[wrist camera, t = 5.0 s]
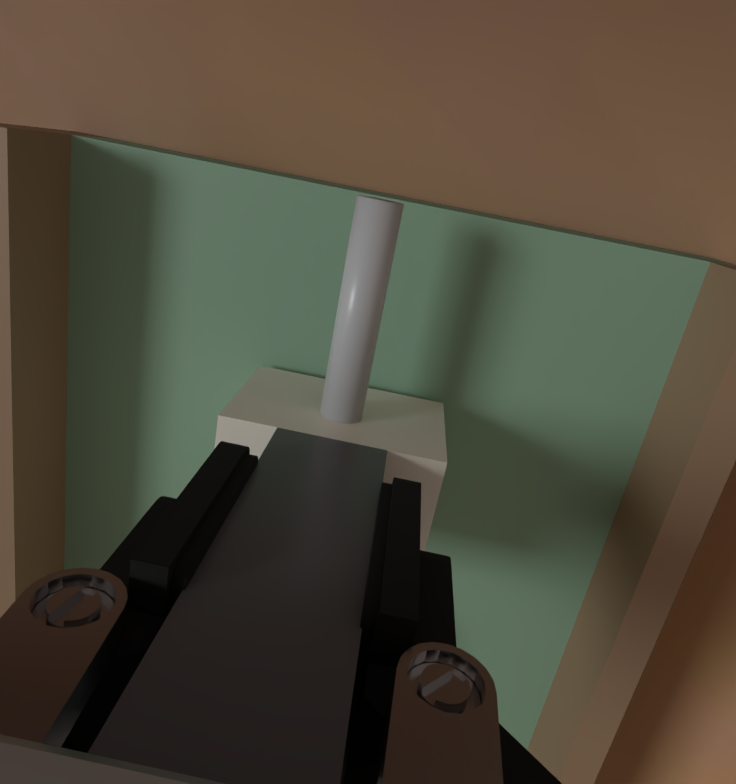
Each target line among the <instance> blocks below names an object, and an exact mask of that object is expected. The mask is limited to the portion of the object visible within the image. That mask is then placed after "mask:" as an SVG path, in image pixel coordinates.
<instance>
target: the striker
mask: <svg viewBox="0 0 736 784" xmlns="http://www.w3.org/2000/svg"><path fill="white" fill-rule="evenodd" d="M403 207H404V204H402V203H398V202H394V201H390V200H385V199H380V198H375V197H369V196H362V195H357V196H356V202H355V208H354V214H353V219H352V225H351V231H350V237H349V243H348V249H347V255H346V260H345V266H344V272H343V278H342V284H341V290H340V296H339V301H338V307H337V313H336V319H335V325H334V331H333V336H332V342H331V348H330V354H329V360H328V366H327V372H326V377H325V379H323V378H319V377H314V376H309V375H304V374H299V373H294V372H290V371H285V370H280V369H275V368H270V367H265V366H260V367H259V368H258V369H257V370H256V371H255V372H254V374H253V375H252V376H251V377H250V378H249V380H248V381H247V382H246V383H245V384H244V385H243V387H242V388H241V389H240V390H239V391H238V392H237V394H236V395H235V396H234V397H233V398H232V399H231V401H230V402H229V403H228V404H227V405H226V406H225V408H224V409H223V410H222V411H221V412H220V413H219V415H218V421H217V430H216V439H215V448H216V446H217V445H218V444H219V443H220V442H221V441H224V442H228V443H233V444H238V445H243V446H248V447H249V448H250V455H255V456H258V464H257V466H256V468H255V469H254V471H253V473H252V475H251V476H250V478H249V480H248V482H247V483H246V485H245V487H244V488H243V490H242V492H241V494H240V495H239V497H238V499H237V501H236V502H235V504H234V506H233V508H232V509H231V511H230V513H229V514H228V516H227V518H226V520H225V521H224V523H223V525H222V527H221V528H220V530H219V532H218V534H217V535H216V537H215V539H214V540H213V542H212V544H211V546H210V547H209V549H208V551H207V553H206V554H205V556H204V558H203V560H202V561H201V563H200V565H199V566H198V568H197V570H196V572H195V573H194V575H193V577H192V579H191V580H190V582H189V584H188V586H187V587H186V589H185V590H182V592H181V594H180V595H179V597H178V599H177V600H176V602H175V604H174V606H173V607H172V609H171V611H170V612H169V614H168V616H167V618H166V619H165V621H164V623H163V624H162V626H161V628H160V630H159V631H158V633H157V635H156V636H155V638H154V640H153V642H152V643H151V645H150V647H149V649H148V650H147V652H146V654H145V655H144V657H143V659H142V661H141V662H140V664H139V666H138V667H137V669H136V671H135V673H134V674H133V676H132V678H131V679H130V681H129V683H128V685H127V686H126V688H125V690H124V691H123V693H122V695H121V697H120V698H119V700H118V702H117V703H116V705H115V707H114V709H113V710H112V712H111V714H110V715H109V717H108V719H107V721H106V722H105V724H104V726H103V727H102V729H101V731H100V733H99V734H98V736H97V738H96V739H95V741H94V743H93V745H92V746H91V748H90V750H89V751H88V753H89V754H94V755H98V756H103V757H107V758H112V759H116V760H121V761H125V762H130V763H135V764H139V765H144V766H148V767H153V768H157V769H162V770H166V771H171V772H175V773H180V774H185V775H189V776H194V777H198V778H203V779H207V780H212V781H216V782H221V783H225V784H340V781H341V773H342V766H343V759H344V752H345V745H346V738H347V731H348V724H349V717H350V710H351V703H352V696H353V689H354V682H355V675H356V668H357V661H358V654H359V647H360V640H361V633H362V628H360V622H361V615H362V608H363V601H364V595H365V588H366V581H367V574H368V568H369V561H370V554H371V548H372V541H373V534H374V527H375V521H376V514H377V507H378V500H379V494H380V488H381V483H382V482H384V483H389V484H392V482H393V478H394V477H396V478H401V479H406V480H410V481H415V482H420V483H421V528H420V550H422V551H425V548H426V544H427V540H428V536H429V532H430V528H431V524H432V521H433V517H434V513H435V509H436V505H437V501H438V497H439V493H440V489H441V486H442V482H443V478H444V474H445V470H446V466H447V450H446V436H445V421H444V407H443V403H440V402H435V401H430V400H425V399H421V398H416V397H411V396H406V395H401V394H396V393H391V392H387V391H382V390H377V389H372V388H368V385H369V380H370V374H371V369H372V364H373V359H374V354H375V349H376V344H377V339H378V334H379V329H380V324H381V319H382V314H383V309H384V304H385V298H386V293H387V288H388V283H389V278H390V273H391V268H392V263H393V258H394V253H395V248H396V243H397V238H398V233H399V228H400V223H401V217H402V212H403ZM215 448H214V449H215Z"/></svg>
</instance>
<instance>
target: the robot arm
mask: <svg viewBox="0 0 736 784" xmlns="http://www.w3.org/2000/svg"><path fill="white" fill-rule="evenodd" d="M257 464H258V456H255V455H250V448H249V447H248V446H243V445H238V444H233V443H228V442H224V441H221V442H220V443H219V444H218V445H217V446H216V448H215V449H214V450H213V452H212V453H211V454H210V455H209V457H208V458H207V459H206V461H205V462H204V463H203V465H202V466H201V467H200V469H199V470H198V471H197V473H196V474H195V475H194V476H193V478H192V479H191V480H190V482H189V483H188V484H187V486H186V487H185V488H184V490H183V491H182V492H181V494H180V495H179V496H178V497H177V499H176V498H171V497H167V496H160V497H159V498H158V499H157V500H156V501H155V502H154V504H153V505H152V506H151V507H150V509H149V510H148V511H147V512H146V513H145V515H144V516H143V517H142V518H141V520H140V521H139V522H138V523H137V524H136V526H135V527H134V528H133V529H132V531H131V532H130V533H129V534H128V535H127V537H126V538H125V539H124V540H123V542H122V543H121V544H120V545H119V546H118V548H117V549H116V550H115V551H114V552H113V554H112V555H111V556H110V557H109V559H108V560H107V561H106V562H105V563H104V565H103V566H102V567H101V568H100V570H99V569H93V568H73V569H65V570H61V571H58V572H54V573H51V574H48V575H46V576H44V577H42V578H40V579H38V580H36V581H35V582H34V583H32V584H31V585H30V586H29V587H28V588H27V589H25V590H24V591H23V592H22V594H21V595H20V596H19V597H18V598H17V599H16V601H15V602H14V603H13V604H12V605H11V606H10V607H9V609H8V610H7V611H6V612H5V613H4V614H3V615H2V617H1V618H0V784H225V783H221V782H216V781H212V780H207V779H203V778H198V777H194V776H189V775H185V774H180V773H175V772H171V771H166V770H162V769H157V768H153V767H148V766H144V765H139V764H135V763H130V762H125V761H121V760H116V759H112V758H107V757H103V756H98V755H94V754H89V753H88V751H89V750H90V748H91V746H92V745H93V743H94V741H95V739H96V738H97V736H98V734H99V733H100V731H101V729H102V727H103V726H104V724H105V722H106V721H107V719H108V717H109V715H110V714H111V712H112V710H113V709H114V707H115V705H116V703H117V702H118V700H119V698H120V697H121V695H122V693H123V691H124V690H125V688H126V686H127V685H128V683H129V681H130V679H131V678H132V676H133V674H134V673H135V671H136V669H137V667H138V666H139V664H140V662H141V661H142V659H143V657H144V655H145V654H146V652H147V650H148V649H149V647H150V645H151V643H152V642H153V640H154V638H155V636H156V635H157V633H158V631H159V630H160V628H161V626H162V624H163V623H164V621H165V619H166V618H167V616H168V614H169V612H170V611H171V609H172V607H173V606H174V604H175V602H176V600H177V599H178V597H179V595H180V594H181V592H182V590H185V589H186V587H187V586H188V584H189V582H190V580H191V579H192V577H193V575H194V573H195V572H196V570H197V568H198V566H199V565H200V563H201V561H202V560H203V558H204V556H205V554H206V553H207V551H208V549H209V547H210V546H211V544H212V542H213V540H214V539H215V537H216V535H217V534H218V532H219V530H220V528H221V527H222V525H223V523H224V521H225V520H226V518H227V516H228V514H229V513H230V511H231V509H232V508H233V506H234V504H235V502H236V501H237V499H238V497H239V495H240V494H241V492H242V490H243V488H244V487H245V485H246V483H247V482H248V480H249V478H250V476H251V475H252V473H253V471H254V469H255V468H256V466H257ZM420 528H421V483H420V482H415V481H410V480H406V479H401V478H396V477H394V478H393V482H392V484H389V483H384V482H382V483H381V488H380V494H379V500H378V507H377V514H376V521H375V527H374V534H373V541H372V548H371V554H370V561H369V568H368V574H367V581H366V588H365V595H364V601H363V608H362V615H361V622H360V628H362V633H361V640H360V647H359V654H358V661H357V668H356V675H355V682H354V689H353V696H352V703H351V710H350V717H349V724H348V731H347V738H346V745H345V752H344V759H343V766H342V773H341V781H340V784H562V783H561V782H560V781H559V780H558V779H557V778H556V777H555V776H554V775H553V774H552V773H550V772H549V771H548V770H547V769H546V768H545V767H544V766H543V765H542V764H541V763H540V762H539V761H538V760H537V759H536V758H535V757H534V756H533V755H532V754H531V753H530V752H529V751H528V750H527V749H525V748H524V747H523V746H522V745H521V744H520V743H519V742H518V741H517V740H516V739H515V738H514V737H513V736H512V735H511V734H510V733H509V732H508V731H507V730H506V729H505V728H504V727H503V726H502V725H501V724H499V717H498V703H497V692H496V688H495V684H494V680H493V678H492V677H491V675H490V674H489V672H488V670H487V669H486V667H484V666H483V665H482V664H481V663H480V662H479V661H478V660H477V659H476V658H475V657H474V656H472V655H470V654H469V653H467V652H466V651H464V650H462V649H460V648H457V647H456V632H455V615H454V599H453V582H452V566H451V558H450V557H449V556H446V555H441V554H436V553H432V552H427V551H422V550H420Z"/></svg>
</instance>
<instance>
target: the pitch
mask: <svg viewBox="0 0 736 784" xmlns="http://www.w3.org/2000/svg"><path fill="white" fill-rule="evenodd" d="M357 195H362V196H369V197H375V198H380V199H385V200H390V201H394V202H398V203H402V204H404V207H403V212H402V217H401V223H400V228H399V233H398V238H397V243H396V248H395V253H394V258H393V263H392V268H391V273H390V278H389V283H388V288H387V293H386V298H385V304H384V309H383V314H382V319H381V324H380V329H379V334H378V339H377V344H376V349H375V354H374V359H373V364H372V369H371V374H370V380H369V385H368V388H372V389H377V390H382V391H387V392H391V393H396V394H401V395H406V396H411V397H416V398H421V399H425V400H430V401H435V402H440V403H443V407H444V421H445V436H446V450H447V466H446V470H445V474H444V478H443V482H442V486H441V489H440V493H439V497H438V501H437V505H436V509H435V513H434V517H433V521H432V524H431V528H430V532H429V536H428V540H427V544H426V548H425V551H427V552H432V553H436V554H441V555H446V556H449V557H450V558H451V566H452V582H453V599H454V615H455V632H456V647H457V648H460V649H462V650H464V651H466V652H467V653H469V654H470V655H472V656H474V657H475V658H476V659H477V660H478V661H479V662H480V663H481V664H482V665H483V666H484V667H486V669H487V670H488V672H489V674H490V675H491V677H492V678H493V680H494V684H495V688H496V692H497V703H498V717H499V724H501V725H502V726H503V727H504V728H505V729H506V730H507V731H508V732H509V733H510V734H511V735H512V736H513V737H514V738H515V739H516V740H517V741H518V742H519V743H520V744H521V745H522V746H523V747H524V748H525V749H527V750H528V751H529V752H530V753H531V754H532V755H533V756H534V757H535V758H536V759H537V760H538V761H539V762H540V763H541V764H542V765H543V766H544V767H545V768H546V769H547V770H548V771H549V772H550V773H552V774H553V775H554V776H555V777H556V778H557V779H558V780H559V781H560V782H561V783H562V784H594V782H595V780H596V778H597V775H598V773H599V771H600V769H601V766H602V764H603V762H604V760H605V757H606V755H607V753H608V750H609V748H610V746H611V744H612V741H613V739H614V737H615V735H616V732H617V730H618V728H619V725H620V723H621V721H622V719H623V716H624V714H625V712H626V709H627V707H628V705H629V703H630V700H631V698H632V696H633V694H634V691H635V689H636V687H637V684H638V682H639V680H640V678H641V675H642V673H643V671H644V668H645V666H646V664H647V662H648V659H649V657H650V655H651V653H652V650H653V648H654V646H655V643H656V641H657V639H658V637H659V634H660V632H661V630H662V627H663V625H664V623H665V621H666V618H667V616H668V614H669V612H670V609H671V607H672V605H673V602H674V600H675V598H676V596H677V593H678V591H679V589H680V587H681V584H682V582H683V580H684V577H685V575H686V573H687V571H688V568H689V566H690V564H691V561H692V559H693V557H694V555H695V552H696V550H697V548H698V546H699V543H700V541H701V539H702V536H703V534H704V532H705V530H706V527H707V525H708V523H709V520H710V518H711V516H712V514H713V511H714V509H715V507H716V505H717V502H718V500H719V498H720V495H721V493H722V491H723V489H724V486H725V484H726V482H727V479H728V477H729V475H730V473H731V470H732V468H733V466H734V464H735V461H736V265H733V264H730V263H727V262H723V261H720V260H717V259H713V258H708V257H703V256H698V255H693V254H688V253H682V252H677V251H672V250H667V249H662V248H657V247H652V246H647V245H642V244H637V243H632V242H627V241H622V240H617V239H612V238H607V237H602V236H597V235H592V234H587V233H582V232H577V231H572V230H567V229H562V228H557V227H552V226H547V225H542V224H537V223H532V222H527V221H522V220H517V219H512V218H507V217H502V216H497V215H492V214H487V213H482V212H477V211H472V210H467V209H462V208H457V207H452V206H446V205H441V204H436V203H431V202H426V201H421V200H416V199H411V198H406V197H401V196H396V195H391V194H386V193H381V192H376V191H371V190H366V189H361V188H356V187H351V186H346V185H341V184H336V183H331V182H326V181H321V180H316V179H311V178H306V177H301V176H296V175H291V174H286V173H281V172H276V171H271V170H266V169H261V168H256V167H251V166H246V165H241V164H236V163H231V162H226V161H221V160H215V159H210V158H205V157H200V156H195V155H190V154H185V153H180V152H175V151H170V150H165V149H160V148H155V147H150V146H145V145H140V144H135V143H130V142H125V141H120V140H115V139H110V138H105V137H100V136H95V135H90V134H85V133H80V132H75V131H66V130H57V129H48V128H39V127H30V126H21V125H12V124H2V123H0V618H1V617H2V615H3V614H4V613H5V612H6V611H7V610H8V609H9V607H10V606H11V605H12V604H13V603H14V602H15V601H16V599H17V598H18V597H19V596H20V595H21V594H22V592H23V591H24V590H25V589H27V588H28V587H29V586H30V585H31V584H32V583H34V582H35V581H36V580H38V579H40V578H42V577H44V576H46V575H48V574H51V573H54V572H58V571H61V570H65V569H73V568H93V569H99V570H100V568H101V567H102V566H103V565H104V563H105V562H106V561H107V560H108V559H109V557H110V556H111V555H112V554H113V552H114V551H115V550H116V549H117V548H118V546H119V545H120V544H121V543H122V542H123V540H124V539H125V538H126V537H127V535H128V534H129V533H130V532H131V531H132V529H133V528H134V527H135V526H136V524H137V523H138V522H139V521H140V520H141V518H142V517H143V516H144V515H145V513H146V512H147V511H148V510H149V509H150V507H151V506H152V505H153V504H154V502H155V501H156V500H157V499H158V498H159V497H160V496H167V497H171V498H176V499H177V497H178V496H179V495H180V494H181V492H182V491H183V490H184V488H185V487H186V486H187V484H188V483H189V482H190V480H191V479H192V478H193V476H194V475H195V474H196V473H197V471H198V470H199V469H200V467H201V466H202V465H203V463H204V462H205V461H206V459H207V458H208V457H209V455H210V454H211V453H212V452H213V450H214V448H215V439H216V430H217V421H218V415H219V413H220V412H221V411H222V410H223V409H224V408H225V406H226V405H227V404H228V403H229V402H230V401H231V399H232V398H233V397H234V396H235V395H236V394H237V392H238V391H239V390H240V389H241V388H242V387H243V385H244V384H245V383H246V382H247V381H248V380H249V378H250V377H251V376H252V375H253V374H254V372H255V371H256V370H257V369H258V368H259V367H260V366H265V367H270V368H275V369H280V370H285V371H290V372H294V373H299V374H304V375H309V376H314V377H319V378H323V379H325V377H326V372H327V366H328V360H329V354H330V348H331V342H332V336H333V331H334V325H335V319H336V313H337V307H338V301H339V296H340V290H341V284H342V278H343V272H344V266H345V260H346V255H347V249H348V243H349V237H350V231H351V225H352V219H353V214H354V208H355V202H356V196H357Z"/></svg>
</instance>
